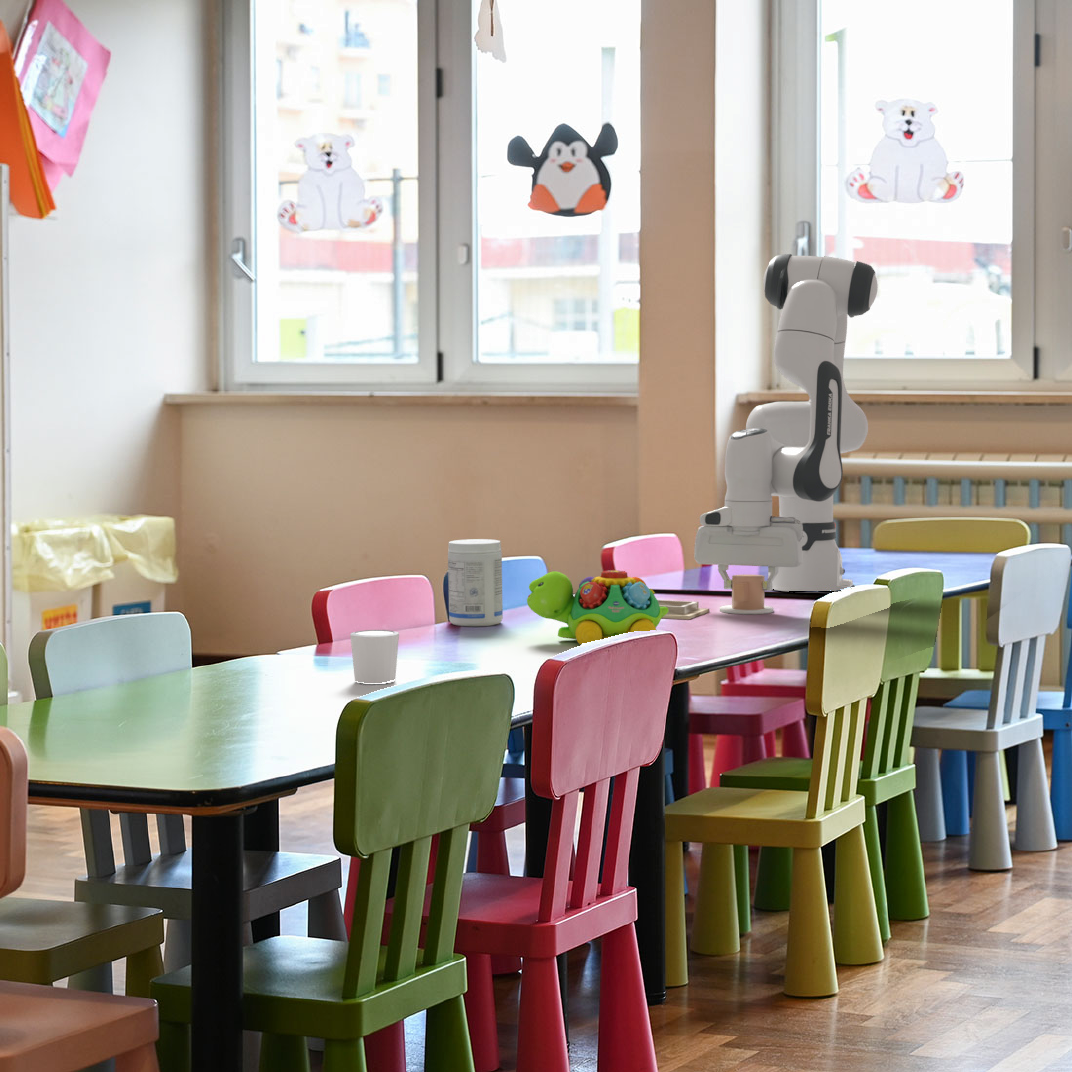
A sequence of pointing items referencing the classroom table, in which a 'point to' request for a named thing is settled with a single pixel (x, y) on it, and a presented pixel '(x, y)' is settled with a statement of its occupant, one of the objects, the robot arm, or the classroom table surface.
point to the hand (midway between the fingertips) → (747, 589)
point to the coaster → (737, 611)
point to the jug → (747, 592)
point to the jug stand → (682, 609)
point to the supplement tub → (475, 582)
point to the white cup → (374, 655)
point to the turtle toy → (596, 605)
